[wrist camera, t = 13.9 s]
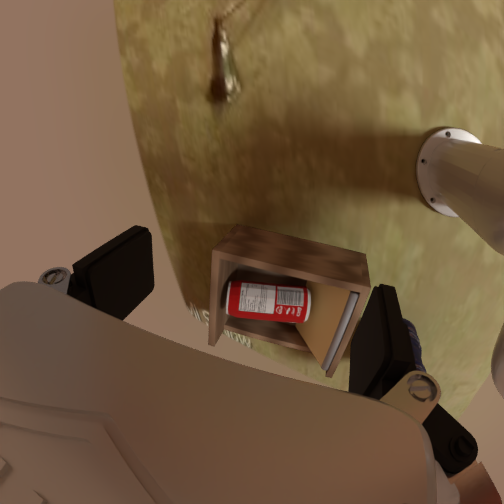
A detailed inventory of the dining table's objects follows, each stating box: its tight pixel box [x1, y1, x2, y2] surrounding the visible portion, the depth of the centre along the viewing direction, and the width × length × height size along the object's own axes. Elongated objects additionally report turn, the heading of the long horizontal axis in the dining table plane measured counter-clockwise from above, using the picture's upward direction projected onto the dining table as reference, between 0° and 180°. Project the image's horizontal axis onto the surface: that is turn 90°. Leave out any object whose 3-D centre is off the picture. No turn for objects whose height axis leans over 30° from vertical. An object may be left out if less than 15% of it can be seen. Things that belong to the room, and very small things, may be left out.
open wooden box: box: [208, 224, 371, 378], centre depth 42 cm, size 20×17×10 cm
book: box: [295, 280, 359, 370], centre depth 41 cm, size 11×14×1 cm
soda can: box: [226, 280, 311, 323], centre depth 42 cm, size 6×6×12 cm
